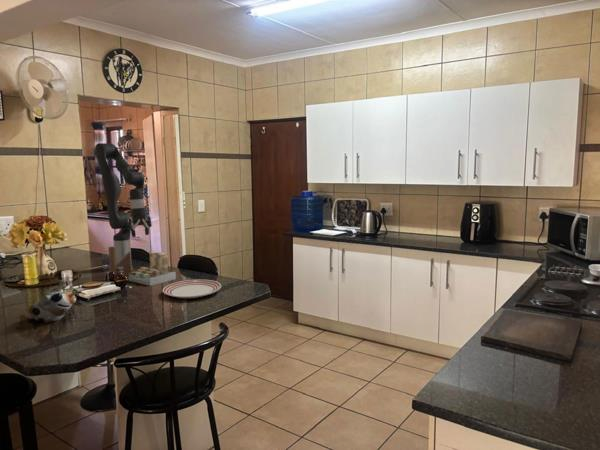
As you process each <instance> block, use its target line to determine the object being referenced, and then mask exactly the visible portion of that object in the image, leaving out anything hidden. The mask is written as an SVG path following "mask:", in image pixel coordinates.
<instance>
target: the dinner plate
mask: <svg viewBox="0 0 600 450" xmlns="http://www.w3.org/2000/svg"><path fill="white" fill-rule="evenodd" d="M221 288H222V284H221V283H220V282H219V281H216V280H212V279H186V280H182V281H176V282H173V283H170V284H167V285H166V286H164V288H163V289H162V293H163V294H164V295H167V296H170V297H173V298H177V299H189V300H190V299H199V297H200V298H203V296H204V297H207V296H210V295H212V294H214V293H216V292H218V291H220V289H221Z"/></svg>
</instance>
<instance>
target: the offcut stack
mask: <svg viewBox="0 0 600 450" xmlns="http://www.w3.org/2000/svg"><path fill="white" fill-rule="evenodd" d="M136 271H137V272H136ZM136 271H135V272H136V273H135V276H138V277H142V278H147V279H148V278H150V277H154V276H158V275H160V271H159V270H157V269H152V268H150V267H146V266H140V267H139V268H137V269H136Z"/></svg>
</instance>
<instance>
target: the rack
mask: <svg viewBox="0 0 600 450" xmlns="http://www.w3.org/2000/svg"><path fill="white" fill-rule="evenodd" d="M136 272H137V270H136V271H133V272H132V271H131V273H128V276H129V279H128V281H129V282H133V283H136V284H137V283H138V284H142V285H146V286H154V285H158V284H162V283H166V282H170V281H174V280H176V279H177V273H176V272H177V271H168V273H166V274H162V275H158V276H154V277H150V278H148V279H147V278H142V277H138V276H135V273H136Z"/></svg>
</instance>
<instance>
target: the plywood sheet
mask: <svg viewBox="0 0 600 450" xmlns="http://www.w3.org/2000/svg"><path fill="white" fill-rule="evenodd" d="M168 262H169V261H168V253H165V252H158V251H154V250H153V251H150V252H149V268H152V269H157V270H159V271H160V275H162V274H166V273H168V272H169V263H168Z"/></svg>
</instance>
